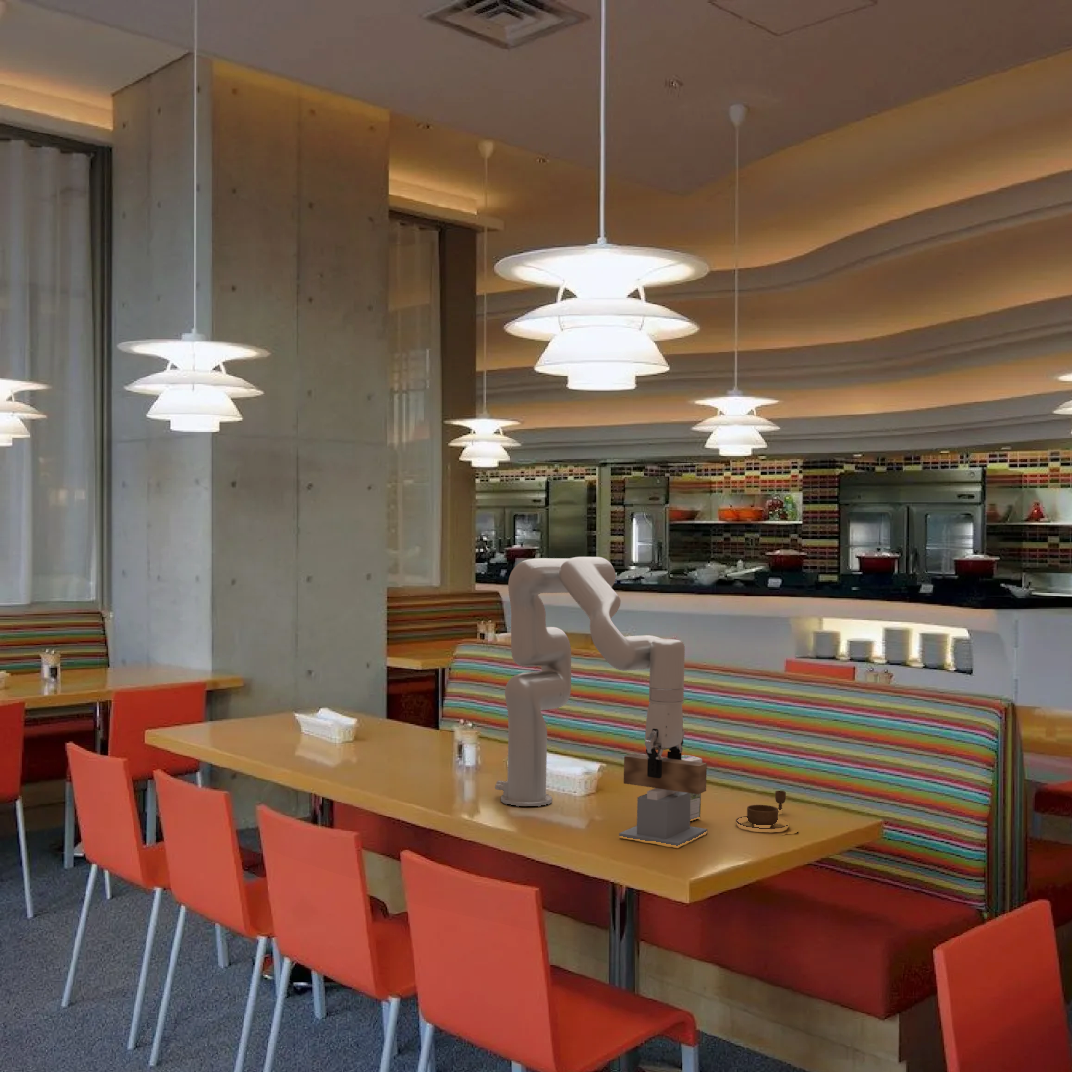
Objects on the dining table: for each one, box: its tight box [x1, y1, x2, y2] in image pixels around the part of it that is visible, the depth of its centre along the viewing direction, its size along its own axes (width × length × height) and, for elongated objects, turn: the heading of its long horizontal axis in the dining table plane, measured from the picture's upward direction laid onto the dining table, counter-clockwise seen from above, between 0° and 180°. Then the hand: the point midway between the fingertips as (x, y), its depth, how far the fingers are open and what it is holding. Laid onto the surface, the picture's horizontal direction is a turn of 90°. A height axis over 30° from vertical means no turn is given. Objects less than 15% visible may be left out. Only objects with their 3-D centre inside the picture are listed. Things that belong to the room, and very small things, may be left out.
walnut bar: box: [623, 753, 708, 794], centre depth 259 cm, size 18×4×6 cm, turn 58°
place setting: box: [735, 790, 788, 829], centre depth 272 cm, size 18×20×6 cm
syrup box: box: [681, 754, 703, 820], centre depth 275 cm, size 6×6×14 cm
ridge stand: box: [618, 788, 708, 846], centre depth 259 cm, size 14×15×11 cm
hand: (664, 773), depth 259 cm, fingers open, 9 cm apart
